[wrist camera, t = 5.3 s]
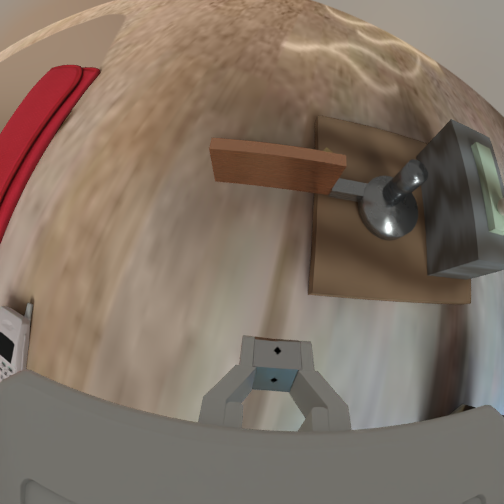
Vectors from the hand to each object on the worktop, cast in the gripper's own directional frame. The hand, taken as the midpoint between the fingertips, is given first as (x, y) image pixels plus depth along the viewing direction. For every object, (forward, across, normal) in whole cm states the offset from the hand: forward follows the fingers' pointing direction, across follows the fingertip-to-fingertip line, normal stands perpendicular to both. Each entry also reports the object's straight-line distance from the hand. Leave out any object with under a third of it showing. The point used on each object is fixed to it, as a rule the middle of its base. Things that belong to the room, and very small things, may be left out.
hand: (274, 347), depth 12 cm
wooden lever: (+20, -5, 0) cm, 21 cm away
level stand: (+23, -16, +1) cm, 28 cm away
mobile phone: (+2, +32, +22) cm, 39 cm away
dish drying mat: (+26, +43, -1) cm, 50 cm away
